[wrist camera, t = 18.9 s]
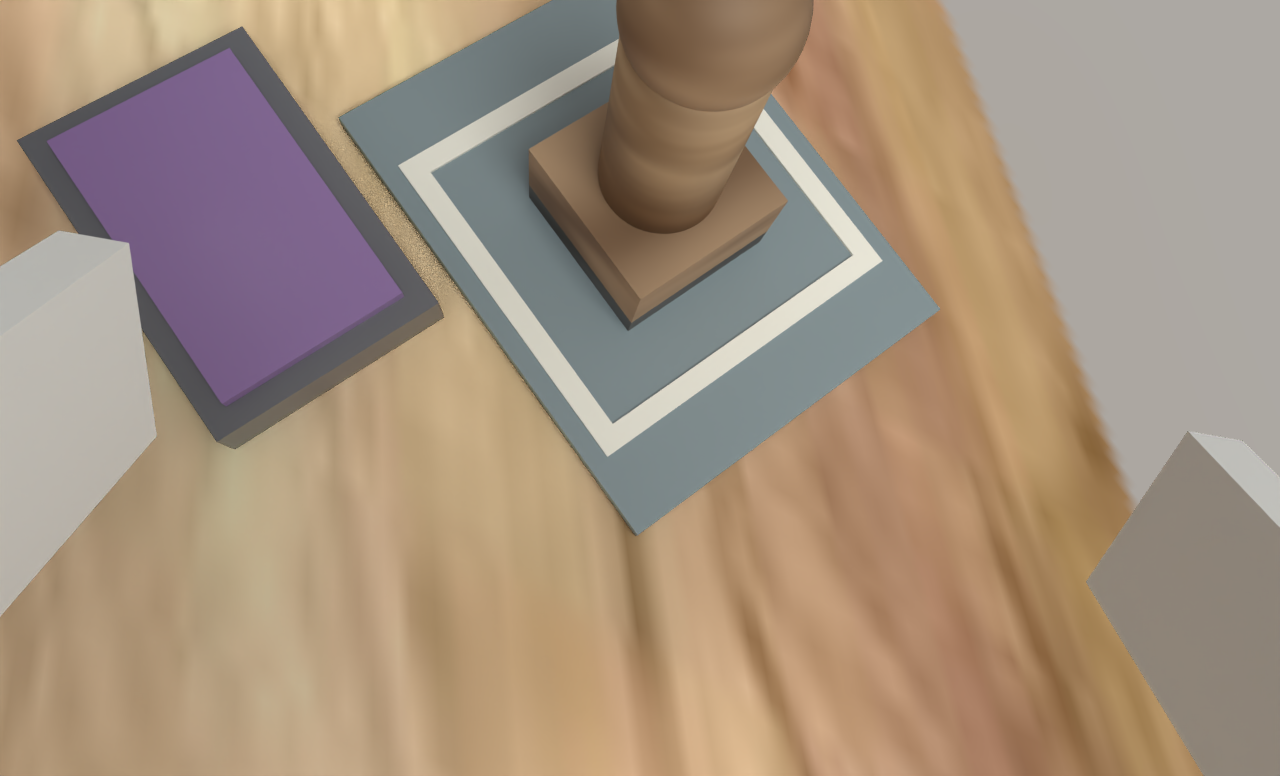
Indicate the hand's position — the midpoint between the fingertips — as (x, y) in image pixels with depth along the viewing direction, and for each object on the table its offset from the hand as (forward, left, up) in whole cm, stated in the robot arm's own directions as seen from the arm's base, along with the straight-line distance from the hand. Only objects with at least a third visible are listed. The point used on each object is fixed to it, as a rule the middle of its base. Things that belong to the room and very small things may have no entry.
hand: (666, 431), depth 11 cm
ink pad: (-14, -4, -18) cm, 23 cm away
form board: (-7, +8, -18) cm, 21 cm away
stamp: (-7, +8, -17) cm, 20 cm away
